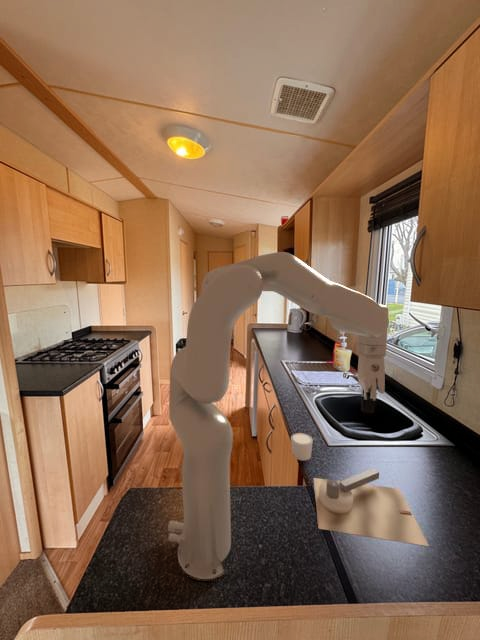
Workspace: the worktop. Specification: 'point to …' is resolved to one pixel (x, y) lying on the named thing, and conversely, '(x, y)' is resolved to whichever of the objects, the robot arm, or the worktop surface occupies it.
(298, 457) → the white short cylinder
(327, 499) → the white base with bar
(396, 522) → the tan flat board
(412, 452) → the worktop surface
